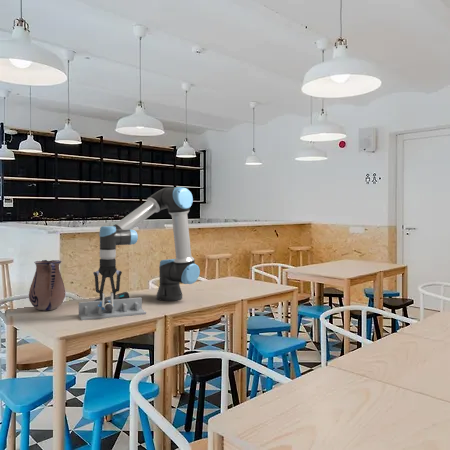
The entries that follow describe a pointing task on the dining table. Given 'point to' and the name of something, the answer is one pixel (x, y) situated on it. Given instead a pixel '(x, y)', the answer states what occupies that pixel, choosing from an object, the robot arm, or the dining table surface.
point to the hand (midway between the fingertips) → (107, 306)
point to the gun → (117, 296)
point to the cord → (107, 306)
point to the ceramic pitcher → (47, 286)
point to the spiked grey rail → (119, 309)
